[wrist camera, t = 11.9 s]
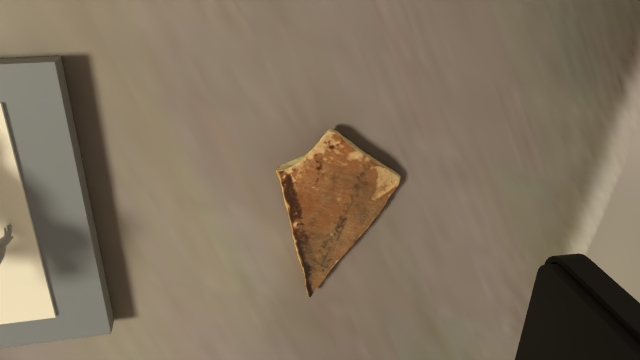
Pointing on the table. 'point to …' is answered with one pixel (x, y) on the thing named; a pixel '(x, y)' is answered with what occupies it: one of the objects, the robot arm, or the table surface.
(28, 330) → the base plate
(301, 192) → the shard
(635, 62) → the table surface
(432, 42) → the table surface
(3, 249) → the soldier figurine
